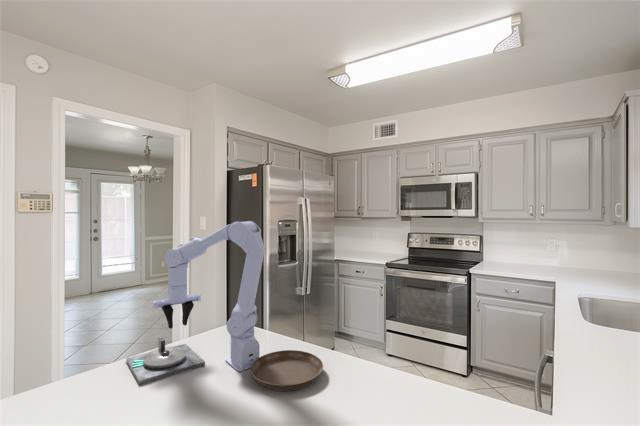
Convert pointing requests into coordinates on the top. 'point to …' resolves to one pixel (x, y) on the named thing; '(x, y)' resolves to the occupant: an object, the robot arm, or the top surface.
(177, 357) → the dial
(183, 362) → the panel
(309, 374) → the plant saucer
